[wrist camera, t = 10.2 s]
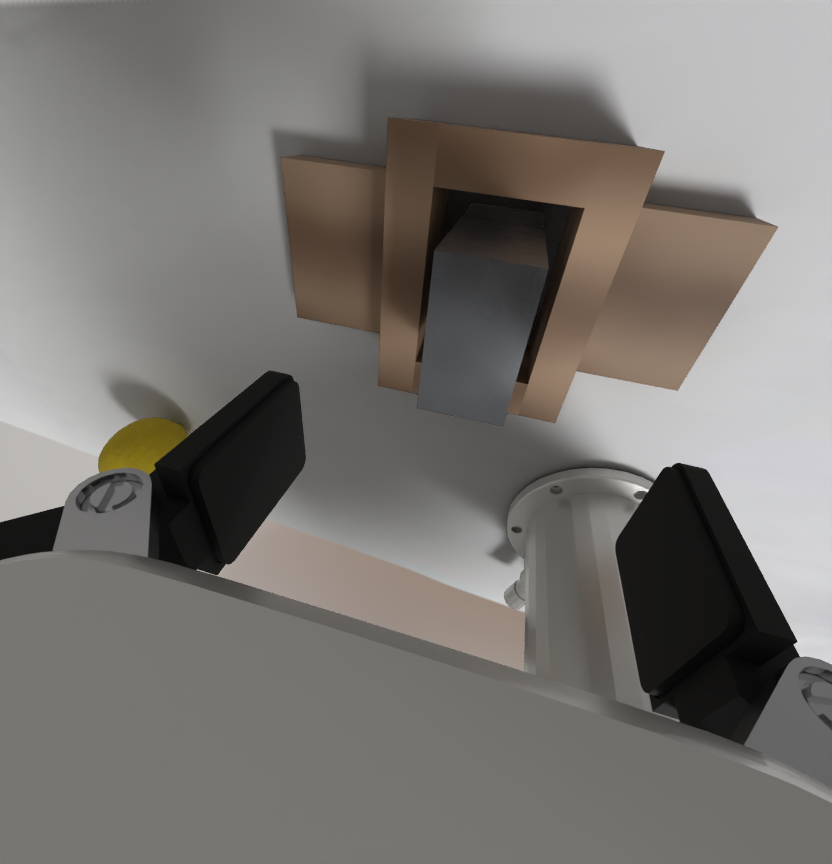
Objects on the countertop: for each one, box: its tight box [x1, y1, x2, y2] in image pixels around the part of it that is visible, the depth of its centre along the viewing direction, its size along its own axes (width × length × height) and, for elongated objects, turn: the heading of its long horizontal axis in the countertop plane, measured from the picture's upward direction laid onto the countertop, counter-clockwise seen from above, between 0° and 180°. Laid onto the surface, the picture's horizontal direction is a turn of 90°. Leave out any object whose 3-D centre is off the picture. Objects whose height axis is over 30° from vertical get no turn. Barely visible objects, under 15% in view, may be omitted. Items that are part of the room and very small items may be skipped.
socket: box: [281, 118, 778, 423], centre depth 20 cm, size 12×22×4 cm, turn 84°
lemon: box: [98, 418, 188, 475], centre depth 33 cm, size 6×6×8 cm
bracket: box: [417, 203, 549, 426], centre depth 18 cm, size 6×4×10 cm, turn 175°
